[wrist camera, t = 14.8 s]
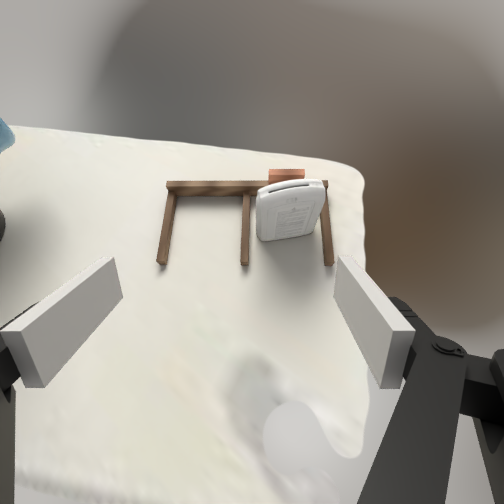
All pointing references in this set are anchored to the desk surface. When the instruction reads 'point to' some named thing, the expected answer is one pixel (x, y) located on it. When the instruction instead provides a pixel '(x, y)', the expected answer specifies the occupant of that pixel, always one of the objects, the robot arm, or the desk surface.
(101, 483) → the desk surface
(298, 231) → the photo printer
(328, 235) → the wooden stand frame
